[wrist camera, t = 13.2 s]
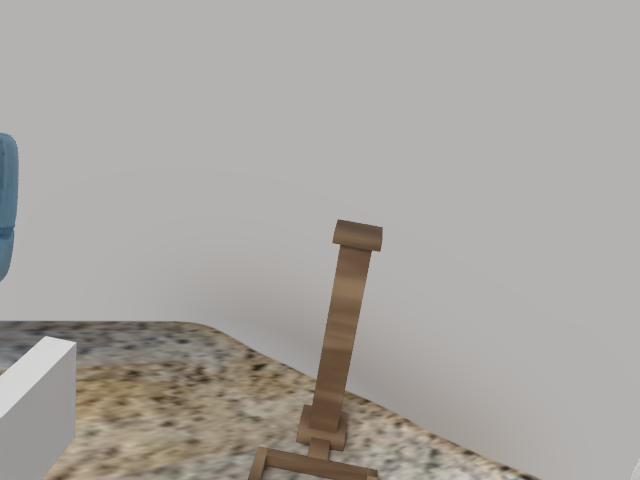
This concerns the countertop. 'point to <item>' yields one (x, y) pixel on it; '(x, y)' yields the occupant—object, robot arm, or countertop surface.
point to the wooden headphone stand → (332, 366)
